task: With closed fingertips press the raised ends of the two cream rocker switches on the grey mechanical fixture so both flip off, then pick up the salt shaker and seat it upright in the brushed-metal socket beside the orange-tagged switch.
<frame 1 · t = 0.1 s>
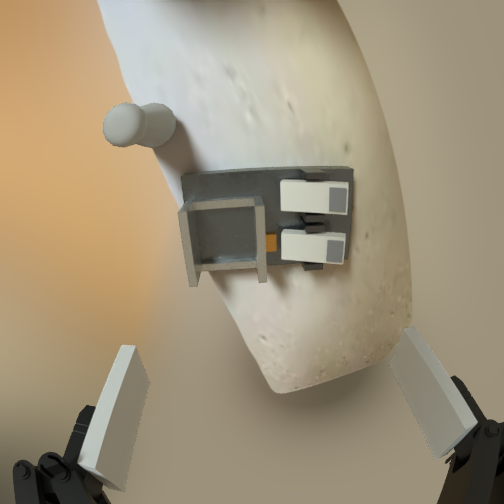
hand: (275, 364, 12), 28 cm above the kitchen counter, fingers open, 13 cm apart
grey mechanical fixture: (269, 214, 38), on the kitchen counter
salt shaker: (158, 125, 33), on the kitchen counter
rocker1: (314, 196, 32), point 5 cm above the kitchen counter, hinge at 20.0°
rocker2: (313, 246, 35), point 5 cm above the kitchen counter, hinge at 20.0°
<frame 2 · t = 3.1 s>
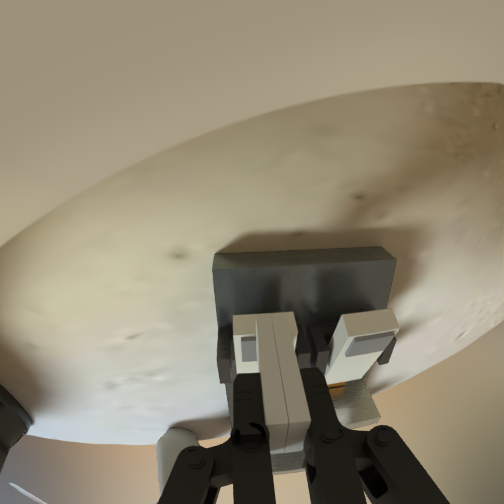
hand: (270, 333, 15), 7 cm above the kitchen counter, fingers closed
grey mechanical fixture: (295, 359, 25), on the kitchen counter
salt shaker: (180, 434, 30), on the kitchen counter
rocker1: (263, 364, 18), point 5 cm above the kitchen counter, hinge at 9.7°, touching gripper
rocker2: (353, 354, 18), point 5 cm above the kitchen counter, hinge at 20.0°
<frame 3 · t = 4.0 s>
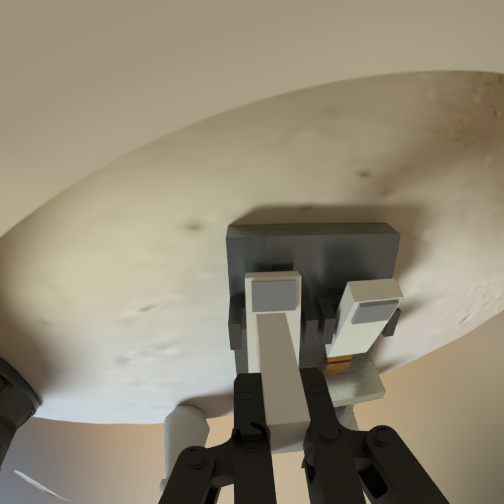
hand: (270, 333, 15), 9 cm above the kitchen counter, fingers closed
grey mechanical fixture: (303, 333, 26), on the kitchen counter
salt shaker: (188, 411, 32), on the kitchen counter
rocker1: (272, 330, 19), point 5 cm above the kitchen counter, hinge at -15.9°
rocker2: (359, 324, 19), point 5 cm above the kitchen counter, hinge at 20.0°
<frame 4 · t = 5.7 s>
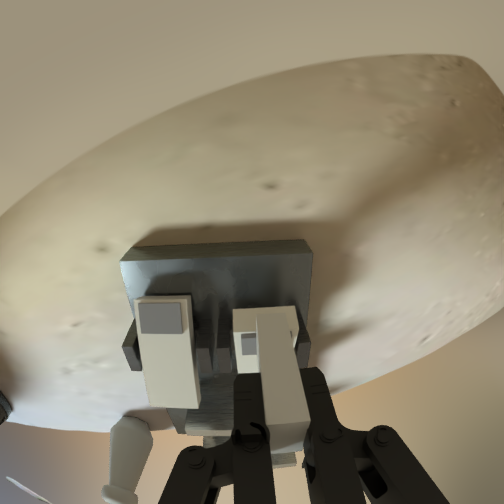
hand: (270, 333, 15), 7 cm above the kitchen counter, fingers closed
grey mechanical fixture: (225, 355, 25), on the kitchen counter
salt shaker: (135, 423, 30), on the kitchen counter
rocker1: (167, 354, 18), point 5 cm above the kitchen counter, hinge at -23.3°
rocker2: (263, 354, 18), point 5 cm above the kitchen counter, hinge at 18.1°, touching gripper
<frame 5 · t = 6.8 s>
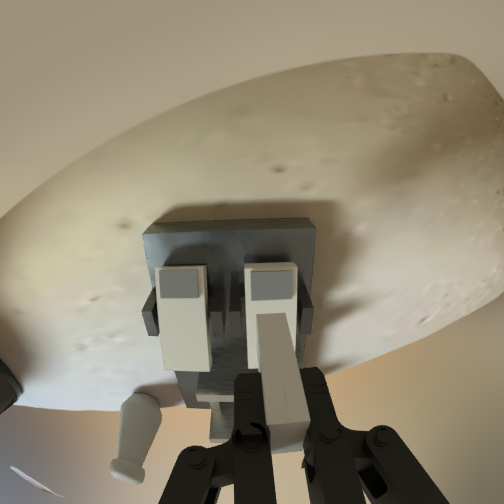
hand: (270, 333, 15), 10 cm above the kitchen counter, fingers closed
grey mechanical fixture: (235, 327, 27), on the kitchen counter
salt shaker: (145, 400, 33), on the kitchen counter
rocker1: (183, 319, 20), point 5 cm above the kitchen counter, hinge at -23.8°
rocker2: (270, 318, 20), point 5 cm above the kitchen counter, hinge at -14.2°
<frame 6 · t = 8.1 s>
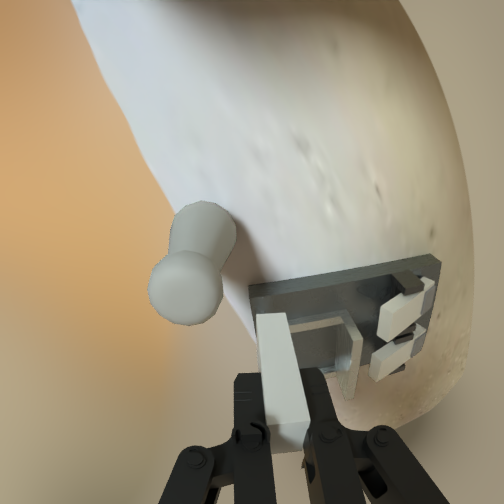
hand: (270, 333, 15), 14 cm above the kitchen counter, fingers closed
grey mechanical fixture: (348, 317, 31), on the kitchen counter
salt shaker: (206, 225, 26), on the kitchen counter
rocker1: (409, 308, 25), point 5 cm above the kitchen counter, hinge at -23.9°
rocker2: (399, 352, 28), point 5 cm above the kitchen counter, hinge at -20.4°
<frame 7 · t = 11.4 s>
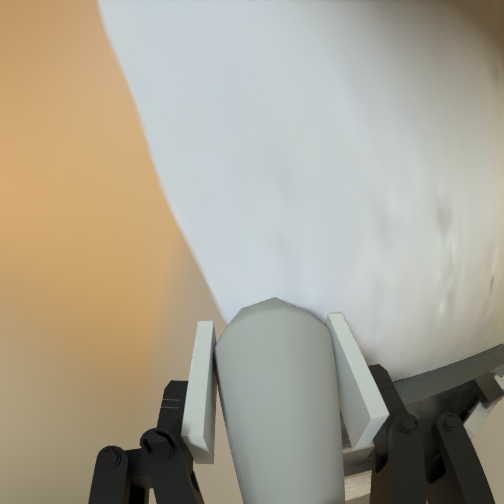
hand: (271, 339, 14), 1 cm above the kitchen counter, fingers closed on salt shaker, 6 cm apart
grey mechanical fixture: (406, 413, 21), on the kitchen counter
salt shaker: (269, 326, 15), on the kitchen counter, touching gripper
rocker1: (479, 414, 15), point 5 cm above the kitchen counter, hinge at -23.9°
when the fingers open (5 cm above the kitchen counter, at t = 16.9 s): salt shaker drops 1 cm, resting on grey mechanical fixture.
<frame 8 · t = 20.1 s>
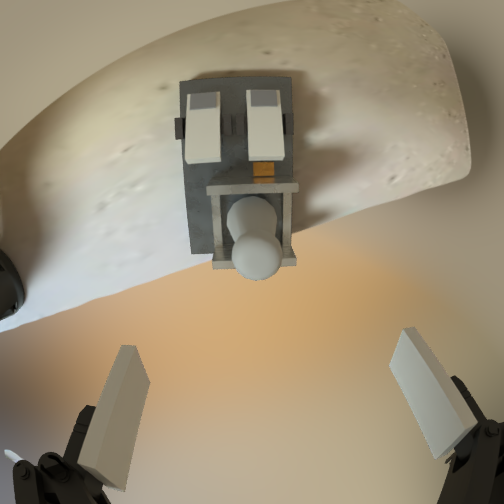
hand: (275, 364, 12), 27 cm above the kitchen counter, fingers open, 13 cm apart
grey mechanical fixture: (237, 164, 34), on the kitchen counter
salt shaker: (251, 214, 35), point 2 cm above the kitchen counter, touching grey mechanical fixture
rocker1: (203, 125, 27), point 5 cm above the kitchen counter, hinge at -23.9°
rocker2: (264, 123, 28), point 5 cm above the kitchen counter, hinge at -21.5°
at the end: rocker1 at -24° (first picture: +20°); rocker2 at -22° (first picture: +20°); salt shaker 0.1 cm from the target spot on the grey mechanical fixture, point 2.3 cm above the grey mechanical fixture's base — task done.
